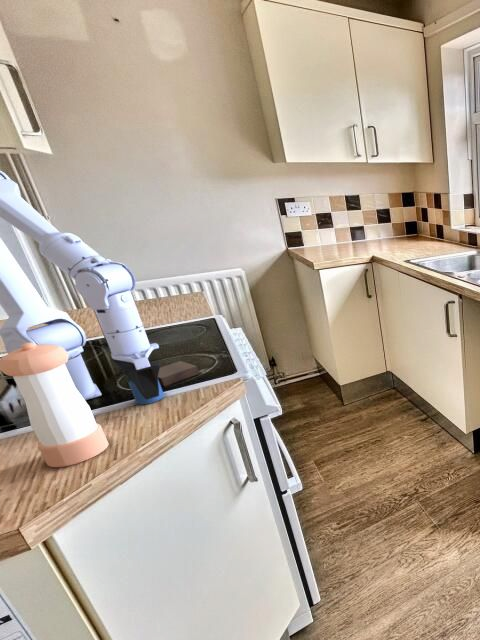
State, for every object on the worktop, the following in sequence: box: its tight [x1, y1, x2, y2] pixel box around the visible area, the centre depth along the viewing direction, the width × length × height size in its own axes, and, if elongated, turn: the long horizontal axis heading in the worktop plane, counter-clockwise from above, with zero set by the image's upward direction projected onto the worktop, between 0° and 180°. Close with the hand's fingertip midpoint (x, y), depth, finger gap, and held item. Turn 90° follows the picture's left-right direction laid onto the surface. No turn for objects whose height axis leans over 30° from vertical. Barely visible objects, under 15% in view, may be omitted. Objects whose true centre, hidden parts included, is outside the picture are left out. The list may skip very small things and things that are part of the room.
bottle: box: [128, 379, 165, 405], centre depth 84 cm, size 4×4×7 cm
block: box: [158, 360, 200, 387], centre depth 95 cm, size 7×7×2 cm
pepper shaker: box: [0, 343, 109, 468], centre depth 65 cm, size 7×7×19 cm
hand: (147, 392), depth 85 cm, fingers open, 7 cm apart
